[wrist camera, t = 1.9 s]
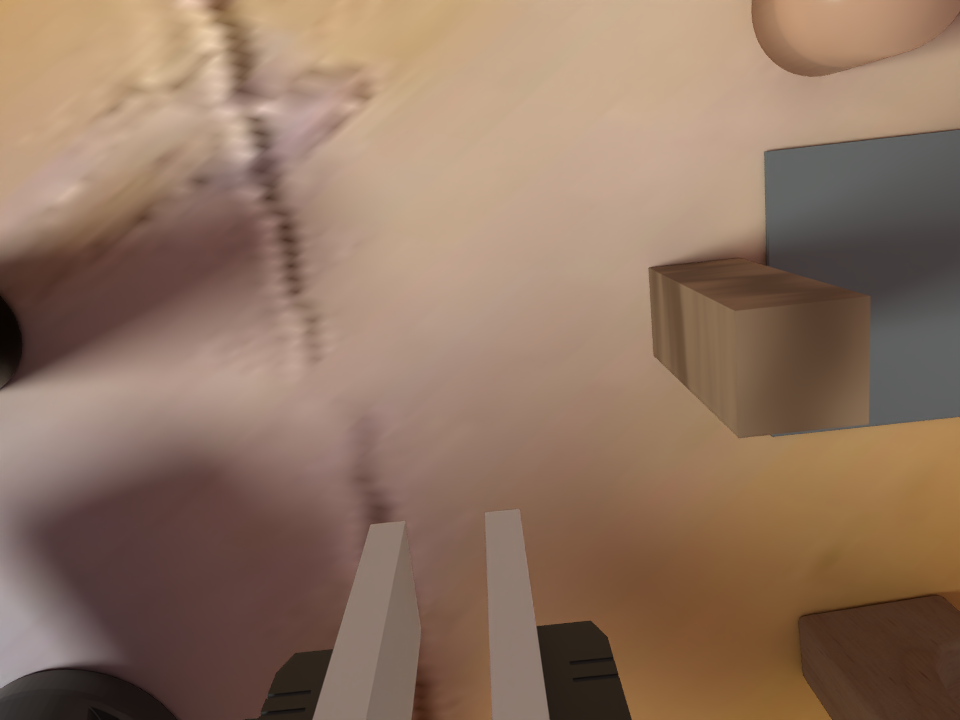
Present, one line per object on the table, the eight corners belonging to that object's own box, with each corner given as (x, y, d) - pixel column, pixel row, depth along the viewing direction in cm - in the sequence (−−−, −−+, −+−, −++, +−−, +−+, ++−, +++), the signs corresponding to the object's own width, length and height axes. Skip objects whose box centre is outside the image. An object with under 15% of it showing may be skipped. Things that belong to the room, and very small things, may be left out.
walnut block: (653, 355, 42) (738, 438, 29) (648, 267, 41) (734, 310, 28) (741, 345, 42) (868, 424, 29) (739, 257, 41) (870, 296, 28)
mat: (770, 434, 44) (772, 436, 43) (764, 151, 40) (767, 151, 39) (1045, 404, 43) (1051, 406, 43) (1066, 117, 40) (1072, 116, 39)
